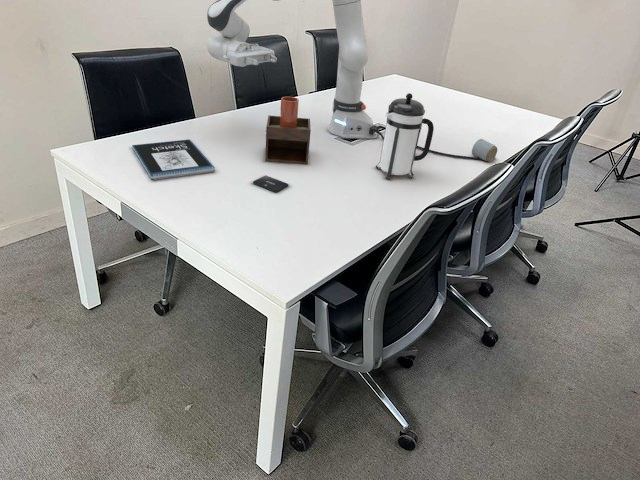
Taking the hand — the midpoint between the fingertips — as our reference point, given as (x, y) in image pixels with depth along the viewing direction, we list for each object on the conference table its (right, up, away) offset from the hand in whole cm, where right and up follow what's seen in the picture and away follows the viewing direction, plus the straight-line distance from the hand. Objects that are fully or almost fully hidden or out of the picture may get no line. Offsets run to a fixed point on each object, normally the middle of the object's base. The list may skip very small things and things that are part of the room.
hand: (266, 61), depth 171 cm
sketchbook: (-34, -37, -4) cm, 50 cm away
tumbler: (+8, -25, +3) cm, 26 cm away
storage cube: (+7, -34, +8) cm, 35 cm away
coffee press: (+49, -41, +5) cm, 64 cm away
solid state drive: (+3, -47, -14) cm, 49 cm away
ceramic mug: (+90, -31, +27) cm, 99 cm away
